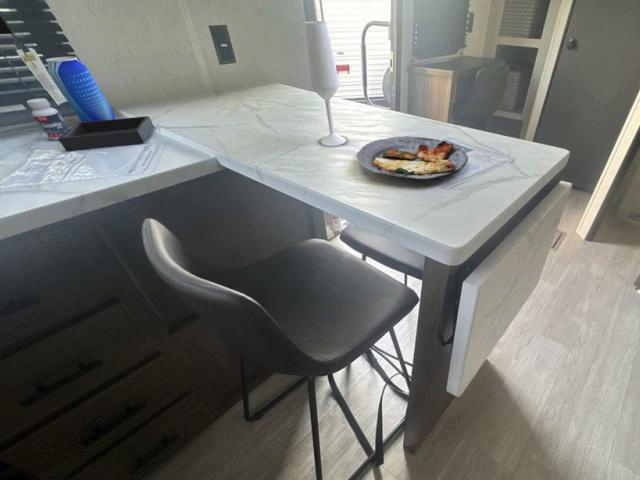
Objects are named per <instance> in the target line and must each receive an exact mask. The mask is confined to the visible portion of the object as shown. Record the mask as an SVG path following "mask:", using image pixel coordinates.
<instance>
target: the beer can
mask: <svg viewBox="0 0 640 480" xmlns="http://www.w3.org/2000/svg"><path fill="white" fill-rule="evenodd" d="M45 62H46V63H47V72H48V74H49V75H50V77H51V78H52V79H53V82H54V83H55V84H56V85H57V87H58V89H59V90H60V92H61V93H62V95H63V96H64V98H65V99H66V101H67V102H68V104H69V105H70V107H71V108H72V110H73V111H74V113H75V114H76V116H77V117H78V119H79V120H80V122H87V121H99V120H110V119H117V116H116V115H115V113H114V112H113V110H112V107H111V106H110V104H109V103H108V100H107V99H106V98H105V96H104V94H103V92H102V91H101V89H100V87H99V85H98V84H97V82H96V80H95V79H94V77H93V75H92V73H91V72H90V70H89V68H88V67H87V66H86V65H85V64H83V63H82V61H80V60H78V58H77V56H59V57H58V56H57V57H50V58H46V59H45Z"/></svg>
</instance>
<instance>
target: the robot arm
mask: <svg viewBox="0 0 640 480" xmlns="http://www.w3.org/2000/svg"><path fill="white" fill-rule="evenodd" d="M13 34H15V32H14V30H13V29H12V27H11V26H10V24H9V23H8V22H7V20H6V19H5V17H4V16H3V14H2V13H1V12H0V35H13Z"/></svg>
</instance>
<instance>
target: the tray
mask: <svg viewBox="0 0 640 480" xmlns="http://www.w3.org/2000/svg"><path fill="white" fill-rule="evenodd" d="M152 123H153V120H151V118H150V116H149V115H146V116H135V117H123V118H116V119H110V120H99V121H87V122H81V121H78V122H76V123H75V124H73V126H71V127H69V128H70V129H69V130H68V131H67V132H65V133H64V134H63V135H62V136H60V137H59V138H58V140H57V141H58V142H59V143H60V144H61V146H62V147H63V148H64V149H65V151H66V152H70V151H71V152H72V151H73V152H74V151H82V150H90V149H92V150H93V149H101V148H110V147H111V148H113V147H118V146H119V147H121V146H129V145H141V144H145V143H146V141H147V140H148V138H149V137H150V136H151V134H152V132H153V131H154V129H155V128H156V127H155V125H154V123H153V124H152Z"/></svg>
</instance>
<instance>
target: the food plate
mask: <svg viewBox="0 0 640 480" xmlns="http://www.w3.org/2000/svg"><path fill="white" fill-rule="evenodd" d="M356 159H357V161H358V163H359V164H360V165H361V166H362V167H363V168H366V169H367V170H368V171H370V172H373V173H375V174H378V173H379V174H384V175H388V176H390V177H391V176H392V177H398V178H405V179H408V178H410V179H415V180H435V179H441V178H443V177H447V176H452V175H454V174H455V173H458V172H460V171H461V170H463V168H464V167H465V166H466V164H467V162H468V161H469V157H468V154H467V153H466V152H465V151H464V150H463V149H462V148H461V147H460V146H457V145H455V144H454V143H451V142H447V141H445V140H441V139H433V138H429V137H428V138H427V137H420V136H408V135H405V136H404V135H403V136H394V137H388V138H381V139H377V140H373V141H370V142H369V143H366V144H364V145H363V146H362V147H361V149H360V150H358V152H356Z"/></svg>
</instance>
